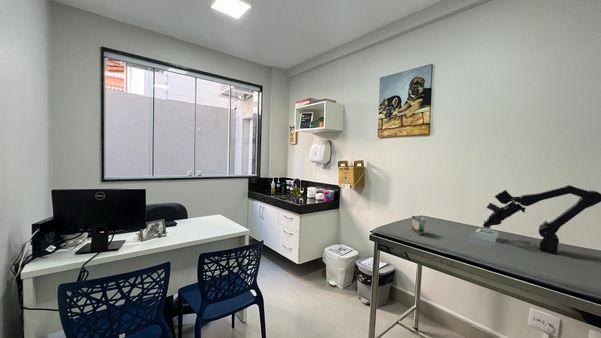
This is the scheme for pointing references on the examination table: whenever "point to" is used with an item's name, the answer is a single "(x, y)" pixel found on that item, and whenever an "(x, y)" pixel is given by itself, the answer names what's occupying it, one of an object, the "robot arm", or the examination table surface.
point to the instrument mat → (480, 241)
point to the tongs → (486, 227)
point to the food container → (418, 225)
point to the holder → (486, 235)
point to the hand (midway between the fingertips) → (484, 224)
